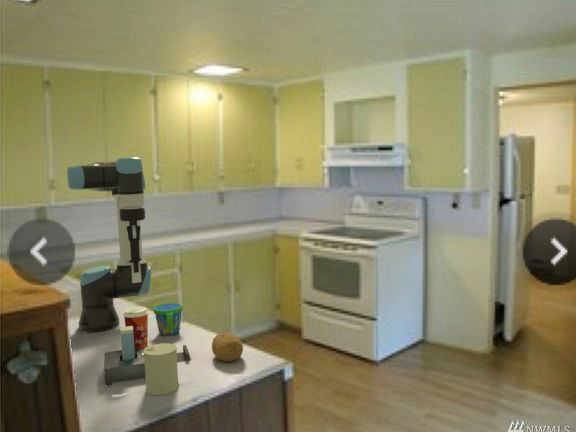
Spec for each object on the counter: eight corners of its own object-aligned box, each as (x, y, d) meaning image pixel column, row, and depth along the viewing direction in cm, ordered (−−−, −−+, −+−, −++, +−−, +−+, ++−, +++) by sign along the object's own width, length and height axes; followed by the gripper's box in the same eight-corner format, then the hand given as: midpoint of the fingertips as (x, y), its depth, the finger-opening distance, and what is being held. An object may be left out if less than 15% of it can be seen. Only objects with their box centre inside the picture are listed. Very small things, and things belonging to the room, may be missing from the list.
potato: (233, 349, 172) (232, 326, 171) (250, 363, 160) (249, 339, 159) (205, 355, 168) (204, 332, 167) (221, 370, 155) (220, 345, 155)
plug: (123, 371, 157) (120, 327, 155) (135, 369, 158) (132, 325, 157) (123, 375, 154) (120, 331, 152) (136, 374, 155) (133, 329, 153)
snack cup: (183, 338, 185) (182, 311, 183) (153, 341, 183) (152, 313, 181) (183, 325, 200) (182, 299, 199) (156, 327, 198) (154, 302, 197)
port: (105, 367, 160) (104, 351, 160) (151, 360, 165) (150, 345, 164) (105, 385, 147) (103, 368, 146) (154, 377, 151) (153, 360, 151)
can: (148, 382, 149) (146, 342, 147) (180, 380, 150) (178, 340, 148) (142, 396, 140) (140, 354, 138) (176, 394, 140) (174, 352, 139)
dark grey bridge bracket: (163, 356, 168) (163, 348, 167) (188, 353, 170) (187, 344, 170) (166, 365, 160) (165, 356, 160) (191, 361, 163) (191, 352, 162)
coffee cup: (143, 357, 167) (141, 313, 166) (120, 356, 169) (117, 312, 167) (155, 348, 175) (152, 306, 174) (133, 347, 177) (130, 305, 175)
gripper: (119, 206, 163) (124, 278, 166) (119, 210, 151) (124, 288, 153) (143, 205, 165) (147, 276, 168) (145, 208, 153) (150, 285, 156)
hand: (136, 281), depth 161 cm, fingers closed
